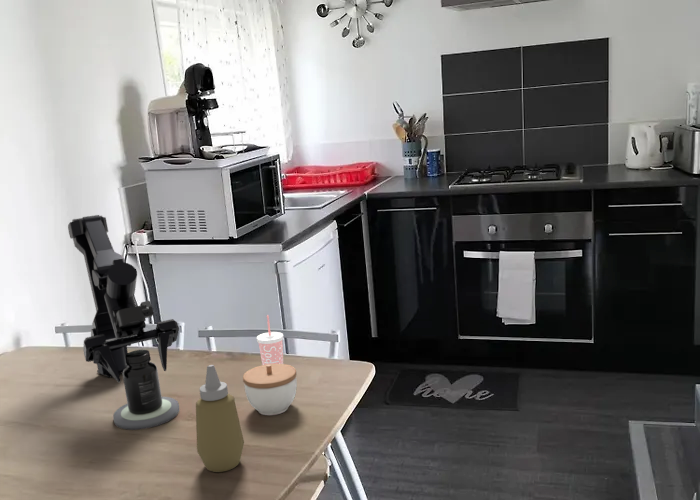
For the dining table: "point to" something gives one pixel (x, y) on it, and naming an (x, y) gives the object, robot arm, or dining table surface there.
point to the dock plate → (146, 416)
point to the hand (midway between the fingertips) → (142, 375)
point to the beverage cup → (271, 346)
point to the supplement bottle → (141, 383)
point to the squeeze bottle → (217, 425)
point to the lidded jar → (270, 387)
